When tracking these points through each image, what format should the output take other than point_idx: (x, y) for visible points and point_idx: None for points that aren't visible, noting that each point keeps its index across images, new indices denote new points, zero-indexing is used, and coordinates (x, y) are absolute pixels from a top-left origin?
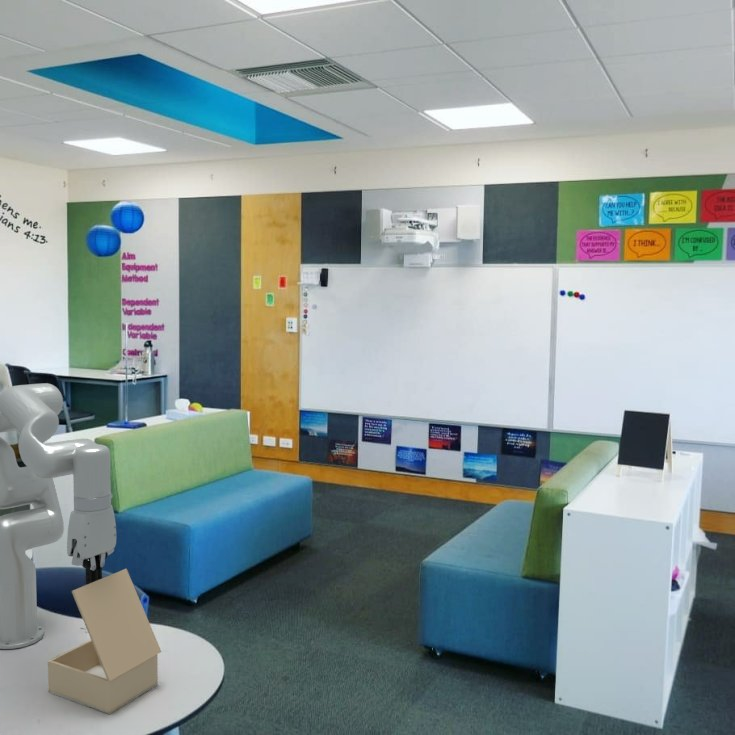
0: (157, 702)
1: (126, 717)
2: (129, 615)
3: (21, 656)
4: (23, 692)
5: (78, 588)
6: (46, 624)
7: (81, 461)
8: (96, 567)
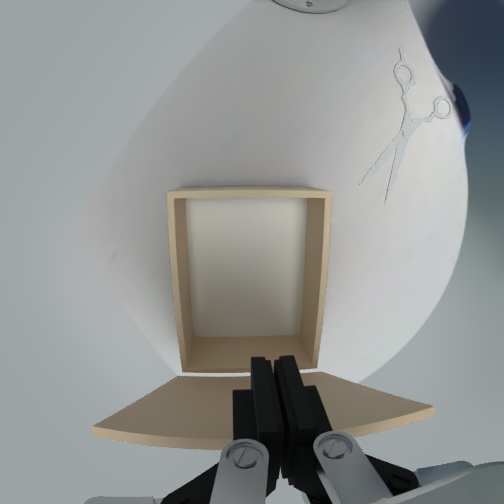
0: None
1: None
2: None
3: (258, 27)
4: (156, 147)
5: (124, 441)
6: None
7: None
8: (291, 471)
